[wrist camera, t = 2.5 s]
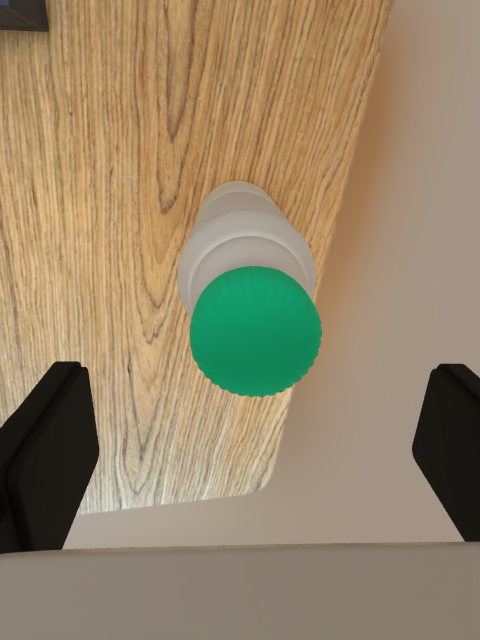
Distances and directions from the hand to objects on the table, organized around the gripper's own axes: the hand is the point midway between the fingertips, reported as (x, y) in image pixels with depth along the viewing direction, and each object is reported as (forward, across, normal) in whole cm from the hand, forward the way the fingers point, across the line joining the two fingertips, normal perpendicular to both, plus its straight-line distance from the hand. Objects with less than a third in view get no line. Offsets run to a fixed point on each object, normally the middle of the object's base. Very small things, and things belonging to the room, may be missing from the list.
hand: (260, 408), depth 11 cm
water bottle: (+28, 0, 0) cm, 28 cm away
